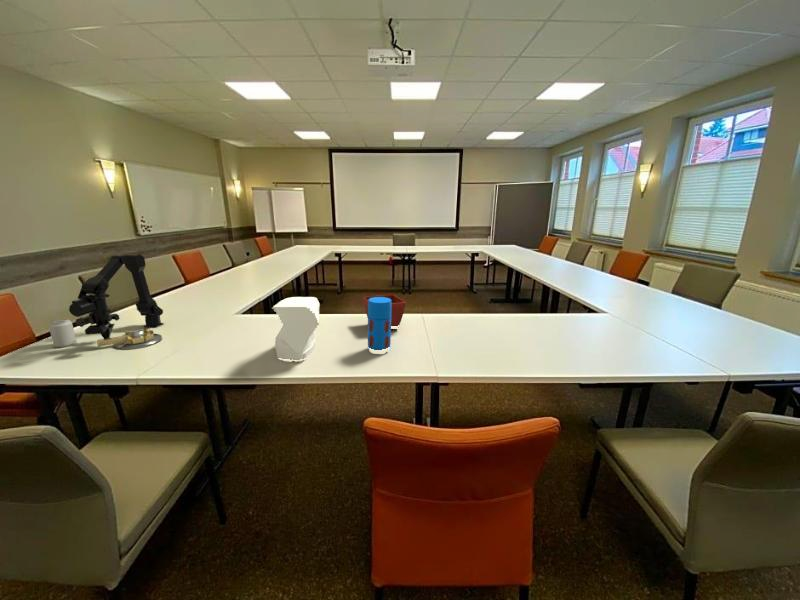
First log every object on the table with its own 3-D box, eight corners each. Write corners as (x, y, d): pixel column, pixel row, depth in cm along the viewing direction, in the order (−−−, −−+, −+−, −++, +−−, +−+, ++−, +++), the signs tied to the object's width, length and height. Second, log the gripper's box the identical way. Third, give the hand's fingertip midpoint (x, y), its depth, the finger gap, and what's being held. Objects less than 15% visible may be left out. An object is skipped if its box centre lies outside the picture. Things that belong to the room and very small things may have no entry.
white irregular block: (266, 364, 140) (261, 306, 133) (293, 340, 166) (290, 291, 159) (314, 368, 138) (312, 309, 131) (334, 344, 164) (333, 293, 157)
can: (62, 349, 148) (56, 323, 145) (49, 347, 150) (43, 322, 147) (81, 342, 156) (75, 318, 152) (68, 341, 157) (62, 317, 154)
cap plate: (137, 334, 168) (135, 324, 166) (171, 336, 166) (169, 326, 165) (104, 348, 150) (101, 337, 149) (141, 350, 149) (139, 339, 148)
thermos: (378, 356, 151) (379, 304, 144) (363, 350, 158) (363, 299, 151) (394, 350, 159) (396, 300, 152) (379, 343, 166) (380, 295, 159)
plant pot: (362, 323, 194) (362, 296, 190) (392, 320, 201) (393, 294, 197) (372, 335, 177) (373, 305, 173) (405, 331, 184) (406, 302, 180)
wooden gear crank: (153, 332, 166) (152, 326, 165) (154, 340, 157) (153, 333, 156) (99, 341, 154) (97, 334, 153) (97, 350, 145) (95, 342, 144)
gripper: (86, 303, 153) (94, 334, 158) (64, 317, 137) (74, 351, 142) (116, 302, 157) (123, 332, 162) (98, 315, 141) (106, 348, 145)
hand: (107, 340), depth 153 cm, fingers closed
